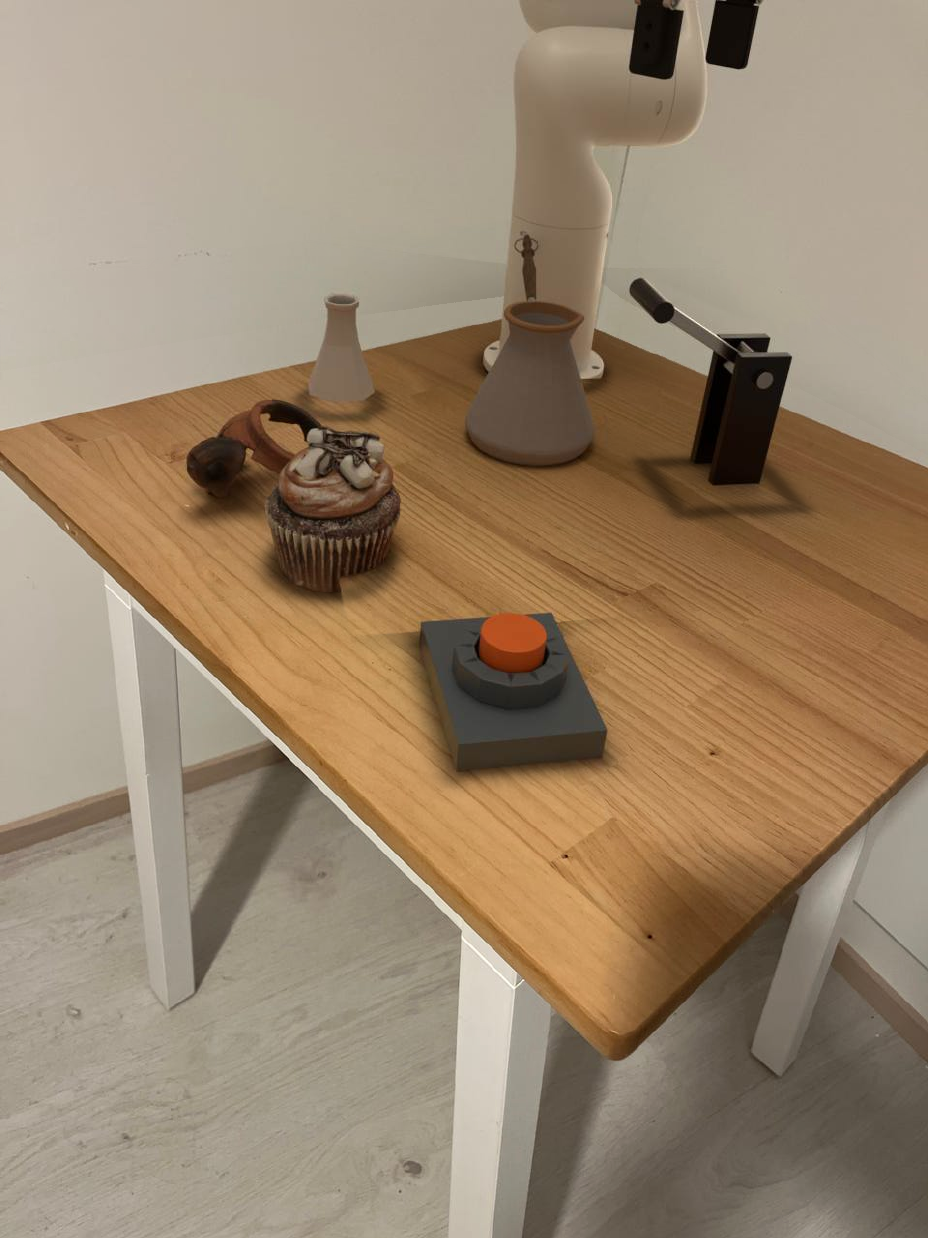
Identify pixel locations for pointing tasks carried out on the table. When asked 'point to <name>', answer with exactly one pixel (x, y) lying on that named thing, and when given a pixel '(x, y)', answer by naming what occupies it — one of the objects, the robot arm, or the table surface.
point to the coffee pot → (533, 385)
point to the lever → (683, 321)
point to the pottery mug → (244, 446)
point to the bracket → (740, 411)
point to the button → (512, 643)
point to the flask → (341, 355)
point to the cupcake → (333, 509)
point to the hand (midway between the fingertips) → (689, 70)
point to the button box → (509, 700)
